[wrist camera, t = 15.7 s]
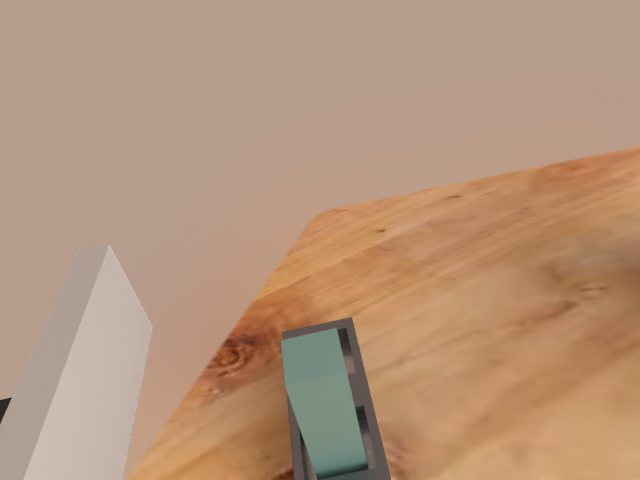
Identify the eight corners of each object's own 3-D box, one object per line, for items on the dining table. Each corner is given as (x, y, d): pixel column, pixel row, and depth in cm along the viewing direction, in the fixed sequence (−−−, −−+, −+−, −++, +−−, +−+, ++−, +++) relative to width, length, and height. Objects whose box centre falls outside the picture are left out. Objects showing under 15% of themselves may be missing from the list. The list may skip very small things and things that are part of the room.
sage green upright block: (312, 438, 44) (280, 340, 37) (359, 427, 44) (336, 327, 37) (318, 483, 40) (284, 385, 33) (369, 472, 40) (346, 372, 33)
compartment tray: (288, 352, 53) (282, 332, 51) (356, 338, 53) (351, 317, 51) (304, 521, 39) (296, 501, 38) (395, 502, 39) (391, 481, 37)
